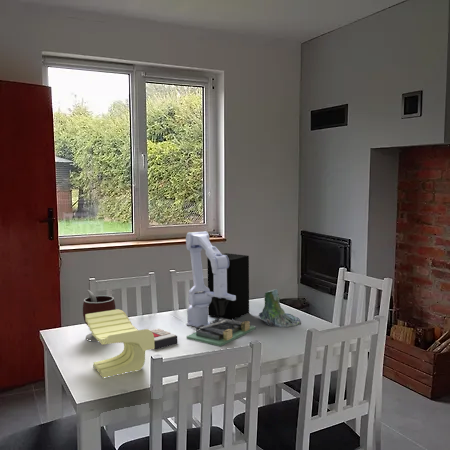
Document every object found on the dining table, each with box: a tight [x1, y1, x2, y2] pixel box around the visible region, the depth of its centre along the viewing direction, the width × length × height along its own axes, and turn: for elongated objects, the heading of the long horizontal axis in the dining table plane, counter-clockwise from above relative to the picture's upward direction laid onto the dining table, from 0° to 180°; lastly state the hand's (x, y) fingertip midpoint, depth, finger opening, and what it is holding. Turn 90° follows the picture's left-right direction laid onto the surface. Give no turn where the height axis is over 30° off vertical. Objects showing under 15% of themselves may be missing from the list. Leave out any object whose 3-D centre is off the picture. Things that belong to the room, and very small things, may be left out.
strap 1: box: [199, 320, 225, 330], centre depth 211 cm, size 12×3×1 cm, turn 55°
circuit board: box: [186, 325, 256, 347], centre depth 217 cm, size 18×28×1 cm, turn 145°
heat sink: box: [195, 317, 250, 341], centre depth 217 cm, size 16×22×4 cm
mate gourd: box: [82, 289, 117, 342], centre depth 214 cm, size 16×14×20 cm
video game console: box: [206, 252, 250, 320], centre depth 245 cm, size 15×15×30 cm
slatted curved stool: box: [85, 308, 155, 379], centre depth 179 cm, size 30×16×18 cm, turn 30°
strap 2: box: [218, 318, 243, 325], centre depth 223 cm, size 12×3×1 cm, turn 55°
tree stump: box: [258, 288, 302, 328], centre depth 234 cm, size 18×20×18 cm
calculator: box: [150, 328, 179, 350], centre depth 207 cm, size 11×4×15 cm
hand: (220, 314), depth 210 cm, fingers closed
